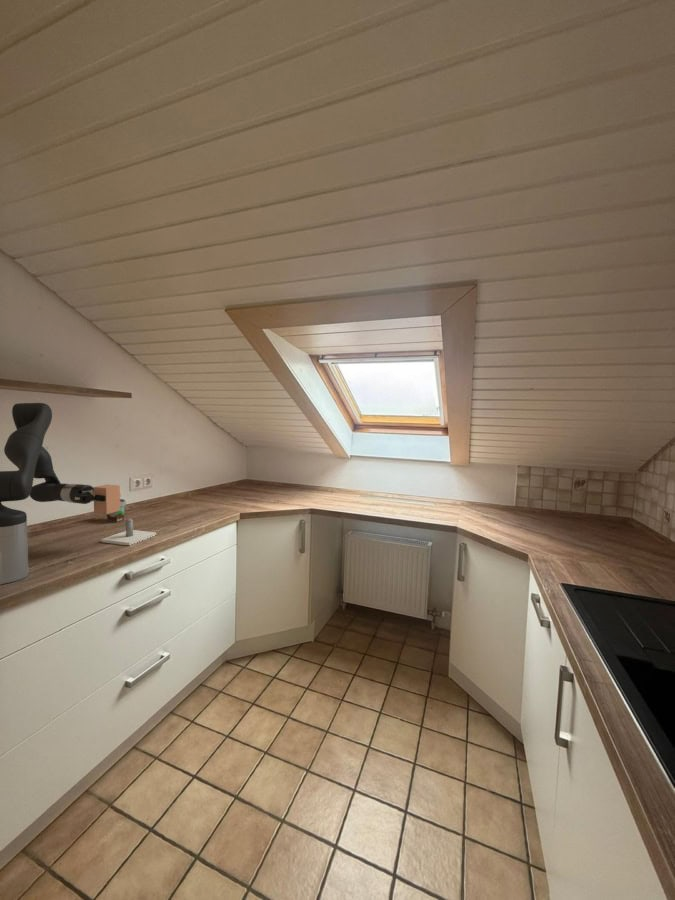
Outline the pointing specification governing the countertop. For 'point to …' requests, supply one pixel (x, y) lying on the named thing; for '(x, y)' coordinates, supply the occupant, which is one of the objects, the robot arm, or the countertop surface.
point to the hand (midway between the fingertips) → (112, 496)
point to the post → (128, 535)
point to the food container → (117, 513)
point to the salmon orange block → (107, 499)
